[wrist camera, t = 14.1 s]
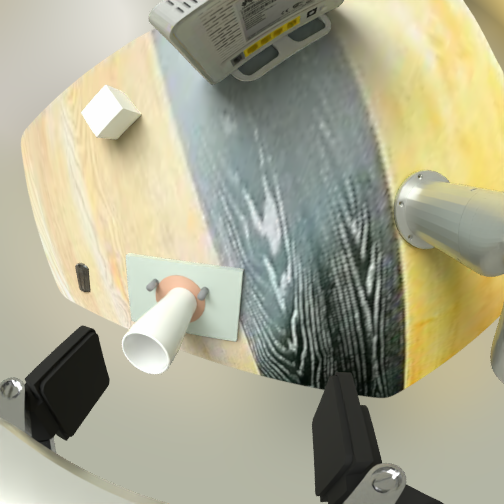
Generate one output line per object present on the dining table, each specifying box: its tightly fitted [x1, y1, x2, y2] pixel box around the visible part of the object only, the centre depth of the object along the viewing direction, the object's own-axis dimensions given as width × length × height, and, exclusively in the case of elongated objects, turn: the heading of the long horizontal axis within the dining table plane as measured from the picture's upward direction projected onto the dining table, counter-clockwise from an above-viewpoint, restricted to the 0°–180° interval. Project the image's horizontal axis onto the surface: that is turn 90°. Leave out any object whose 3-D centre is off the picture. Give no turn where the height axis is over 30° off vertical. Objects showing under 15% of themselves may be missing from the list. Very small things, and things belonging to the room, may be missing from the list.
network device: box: [149, 0, 344, 85], centre depth 22 cm, size 26×9×20 cm, turn 130°
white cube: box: [81, 85, 142, 140], centre depth 34 cm, size 6×6×6 cm
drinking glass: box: [122, 287, 197, 374], centre depth 37 cm, size 7×7×15 cm
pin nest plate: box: [126, 253, 244, 342], centre depth 43 cm, size 20×13×4 cm, turn 84°
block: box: [75, 263, 90, 292], centre depth 47 cm, size 4×6×2 cm, turn 177°
